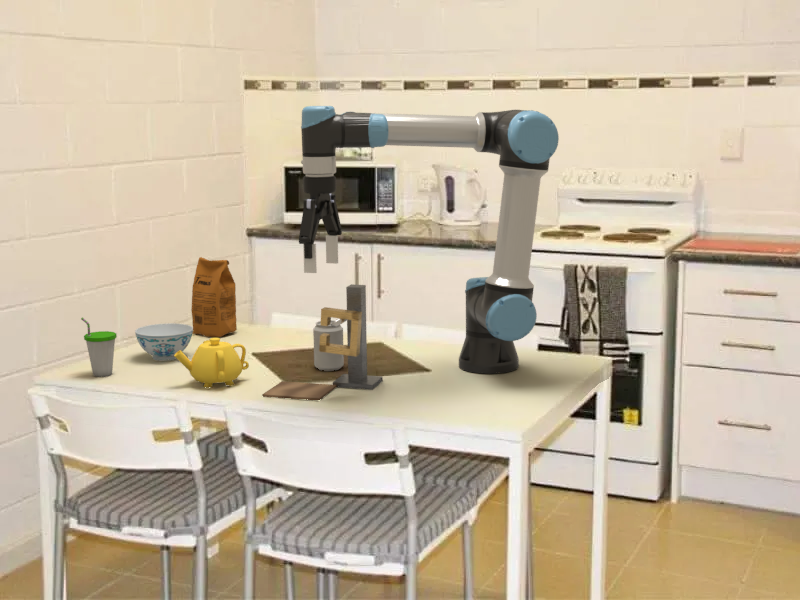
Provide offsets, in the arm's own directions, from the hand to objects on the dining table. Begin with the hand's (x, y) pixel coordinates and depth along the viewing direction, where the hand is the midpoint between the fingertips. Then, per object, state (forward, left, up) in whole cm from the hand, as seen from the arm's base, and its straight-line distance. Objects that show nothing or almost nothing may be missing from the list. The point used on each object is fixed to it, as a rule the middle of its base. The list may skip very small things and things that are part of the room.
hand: (321, 267), depth 265 cm
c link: (-5, +2, -19) cm, 20 cm away
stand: (-5, -3, -30) cm, 30 cm away
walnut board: (+6, +1, -30) cm, 30 cm away
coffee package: (+53, -52, -30) cm, 80 cm away
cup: (+60, -2, -30) cm, 67 cm away
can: (+7, -22, -30) cm, 38 cm away
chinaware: (+53, -22, -30) cm, 65 cm away
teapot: (+30, -2, -30) cm, 42 cm away
